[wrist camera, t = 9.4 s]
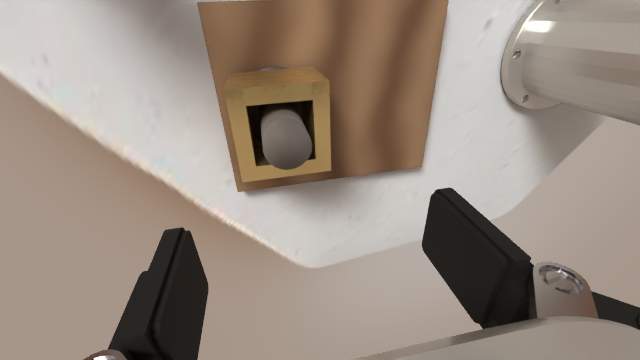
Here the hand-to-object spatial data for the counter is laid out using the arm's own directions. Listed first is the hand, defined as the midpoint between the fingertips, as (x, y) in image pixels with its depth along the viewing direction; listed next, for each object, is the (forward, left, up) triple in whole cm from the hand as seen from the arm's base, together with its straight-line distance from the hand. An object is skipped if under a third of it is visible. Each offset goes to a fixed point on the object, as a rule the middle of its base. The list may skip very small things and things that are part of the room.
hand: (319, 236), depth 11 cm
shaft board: (-5, 0, -20) cm, 21 cm away
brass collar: (0, 0, -18) cm, 18 cm away
